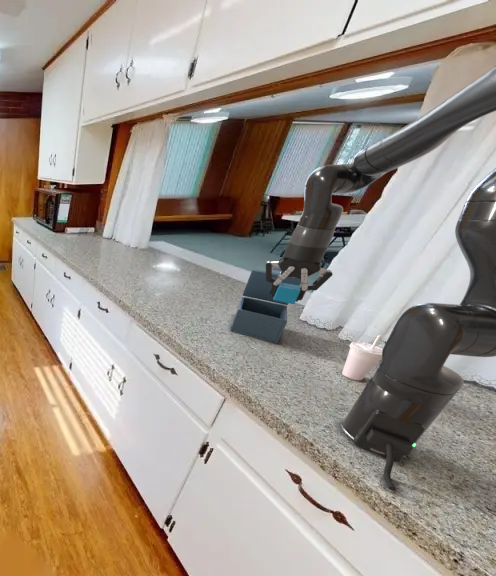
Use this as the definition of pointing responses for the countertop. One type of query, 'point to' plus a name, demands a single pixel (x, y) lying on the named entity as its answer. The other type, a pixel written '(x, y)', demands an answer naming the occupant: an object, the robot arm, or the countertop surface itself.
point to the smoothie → (362, 359)
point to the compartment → (260, 319)
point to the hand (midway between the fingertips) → (284, 298)
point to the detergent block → (287, 293)
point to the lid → (265, 285)
